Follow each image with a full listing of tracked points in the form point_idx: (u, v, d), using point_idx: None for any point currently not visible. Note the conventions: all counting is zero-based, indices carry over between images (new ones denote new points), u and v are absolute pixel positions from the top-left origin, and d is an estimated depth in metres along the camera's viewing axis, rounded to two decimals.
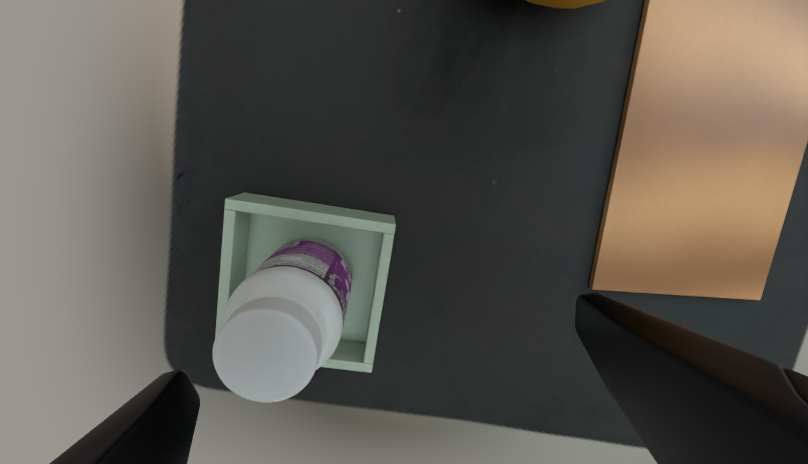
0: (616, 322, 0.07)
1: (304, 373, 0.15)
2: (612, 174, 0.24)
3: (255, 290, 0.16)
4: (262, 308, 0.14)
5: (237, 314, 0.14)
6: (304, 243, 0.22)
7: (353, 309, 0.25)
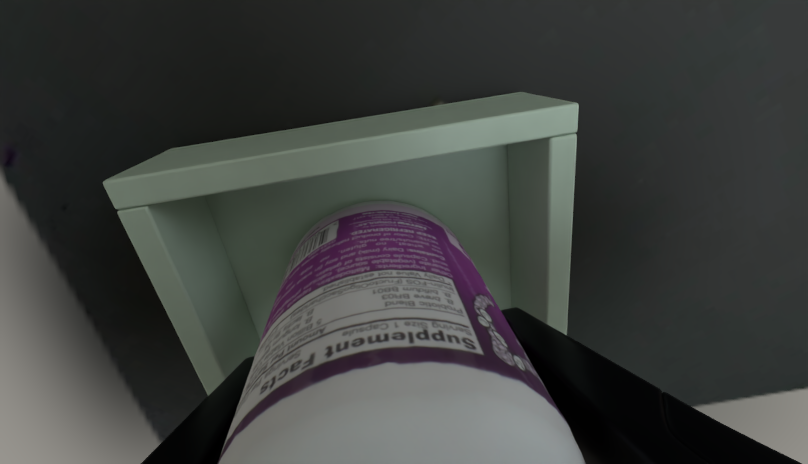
0: (524, 339, 0.07)
1: None
2: None
3: None
4: None
5: None
6: (351, 224, 0.09)
7: None
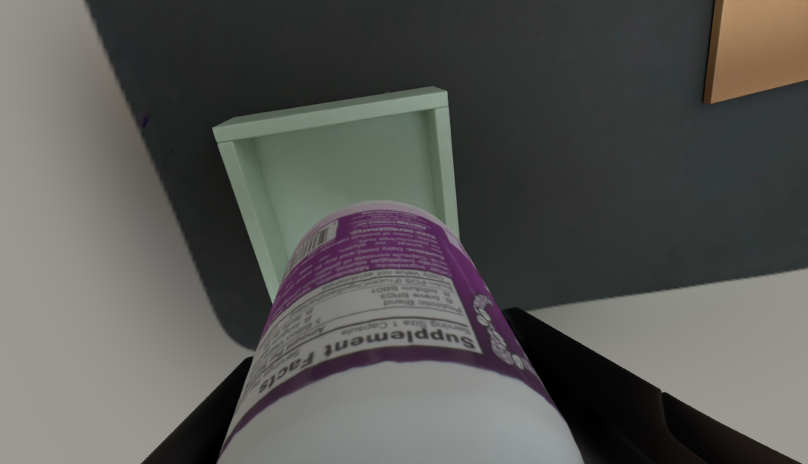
0: (524, 339, 0.07)
1: None
2: None
3: None
4: None
5: None
6: (351, 224, 0.09)
7: None
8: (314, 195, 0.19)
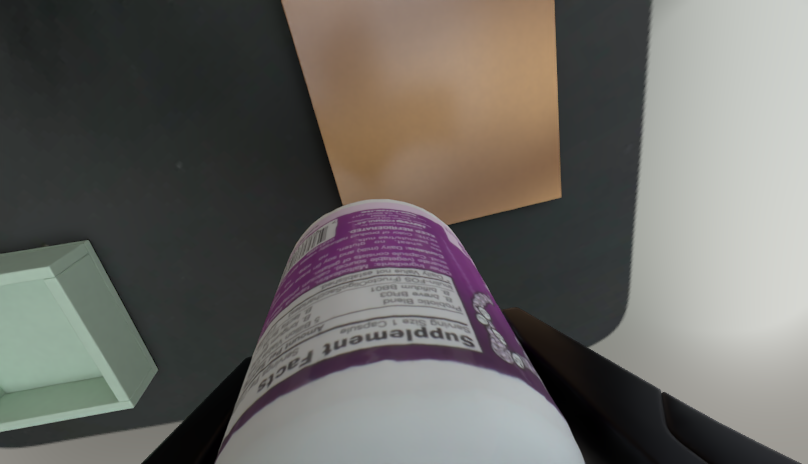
0: (524, 340, 0.07)
1: None
2: (314, 110, 0.18)
3: None
4: None
5: None
6: (350, 223, 0.09)
7: None
8: (0, 327, 0.21)
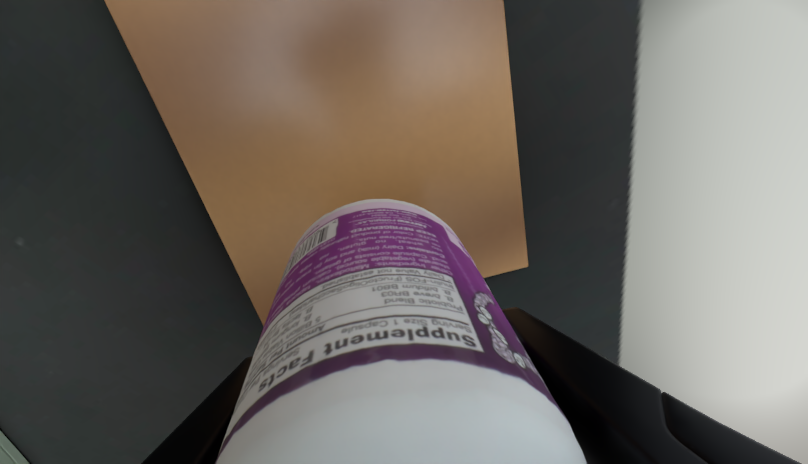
0: (524, 340, 0.07)
1: None
2: (191, 170, 0.14)
3: None
4: None
5: None
6: (351, 222, 0.09)
7: None
8: None
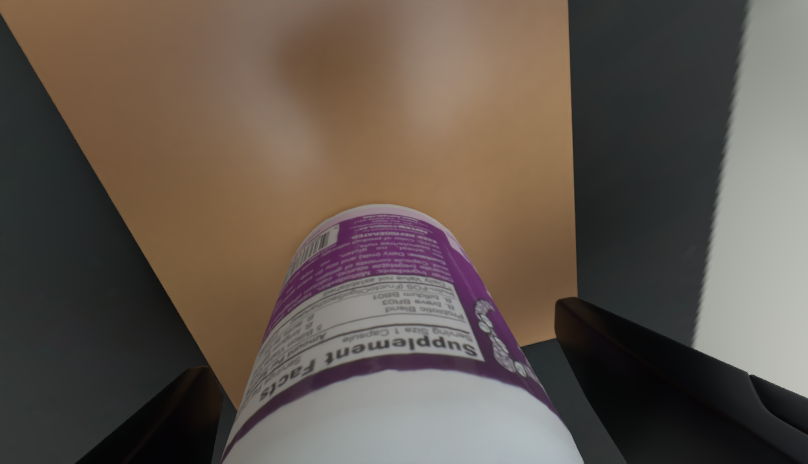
0: (591, 327, 0.07)
1: None
2: (129, 218, 0.10)
3: None
4: None
5: None
6: (352, 228, 0.09)
7: None
8: None
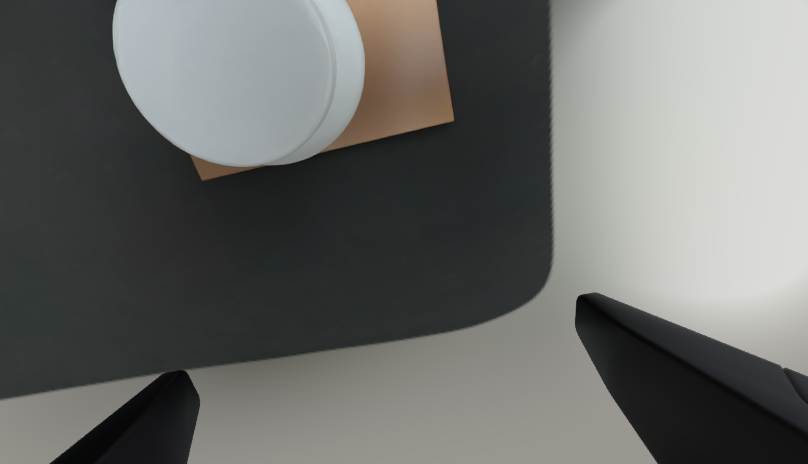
0: (616, 322, 0.07)
1: (313, 80, 0.07)
2: None
3: None
4: None
5: None
6: None
7: None
8: None
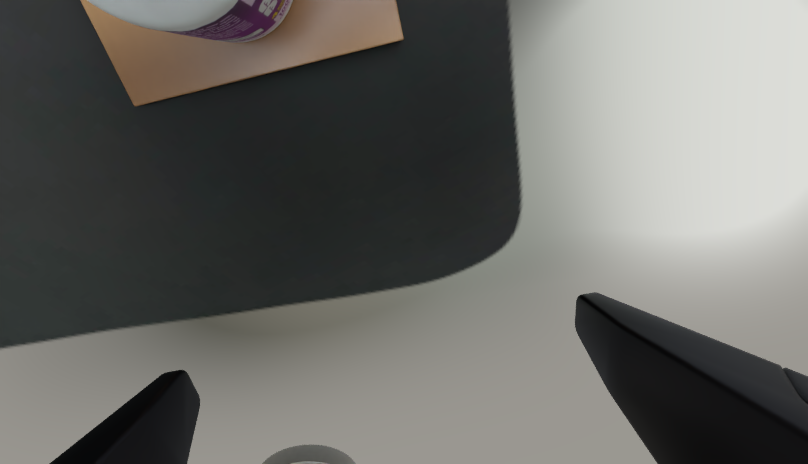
0: (616, 322, 0.07)
1: None
2: None
3: None
4: None
5: None
6: None
7: None
8: None
